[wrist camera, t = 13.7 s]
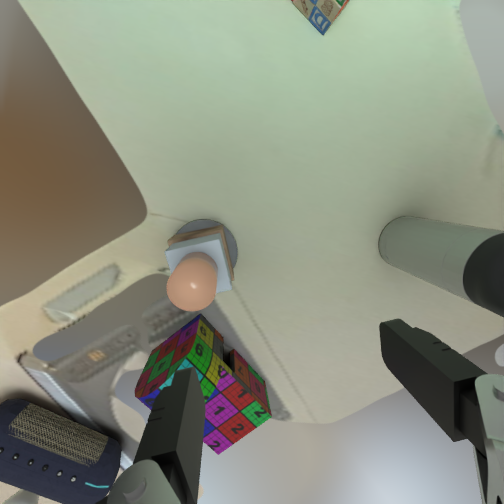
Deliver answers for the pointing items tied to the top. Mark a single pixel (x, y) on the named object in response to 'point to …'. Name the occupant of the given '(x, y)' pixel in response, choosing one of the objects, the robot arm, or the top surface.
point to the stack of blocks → (321, 11)
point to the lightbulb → (23, 498)
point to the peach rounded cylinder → (193, 282)
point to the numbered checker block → (209, 382)
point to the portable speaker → (55, 455)
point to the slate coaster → (209, 223)
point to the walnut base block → (200, 234)
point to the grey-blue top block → (206, 245)
